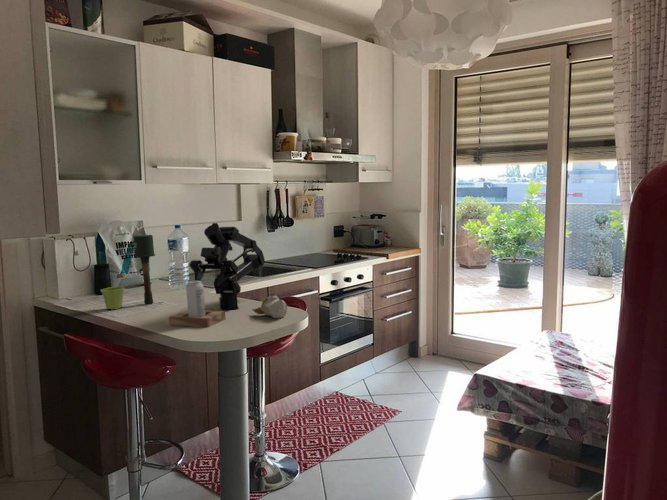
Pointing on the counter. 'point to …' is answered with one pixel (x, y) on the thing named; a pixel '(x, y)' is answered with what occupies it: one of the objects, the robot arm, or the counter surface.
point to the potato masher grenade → (145, 261)
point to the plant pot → (113, 297)
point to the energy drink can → (195, 299)
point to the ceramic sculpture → (272, 307)
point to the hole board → (197, 319)
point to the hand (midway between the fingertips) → (206, 285)
